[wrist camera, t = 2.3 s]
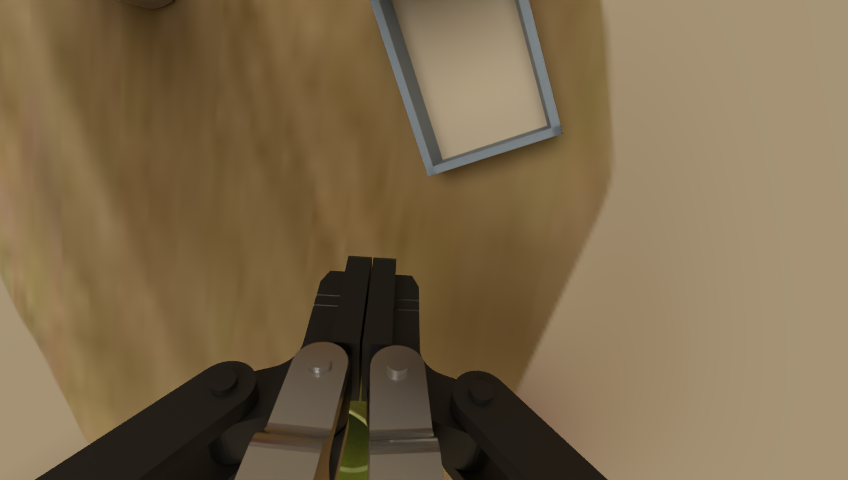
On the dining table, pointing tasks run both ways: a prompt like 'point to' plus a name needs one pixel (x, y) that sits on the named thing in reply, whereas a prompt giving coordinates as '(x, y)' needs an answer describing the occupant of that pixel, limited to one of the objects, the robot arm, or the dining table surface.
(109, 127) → the dining table surface
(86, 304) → the dining table surface
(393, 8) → the box
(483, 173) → the dining table surface
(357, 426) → the plant pot
